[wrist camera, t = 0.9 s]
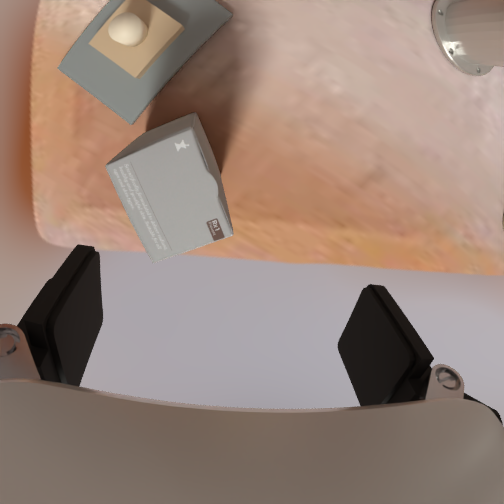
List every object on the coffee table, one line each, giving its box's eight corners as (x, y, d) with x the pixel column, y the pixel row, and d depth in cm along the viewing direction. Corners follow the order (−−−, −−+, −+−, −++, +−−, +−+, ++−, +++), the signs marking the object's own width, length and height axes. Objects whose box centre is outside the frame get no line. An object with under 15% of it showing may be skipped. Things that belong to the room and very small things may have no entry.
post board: (153, -38, 22) (141, -60, 17) (232, 16, 27) (235, -1, 21) (61, 68, 27) (32, 66, 21) (133, 124, 31) (115, 131, 26)
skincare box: (143, 132, 32) (90, 163, 18) (204, 108, 32) (191, 118, 18) (171, 199, 36) (143, 270, 22) (229, 178, 36) (237, 238, 22)
